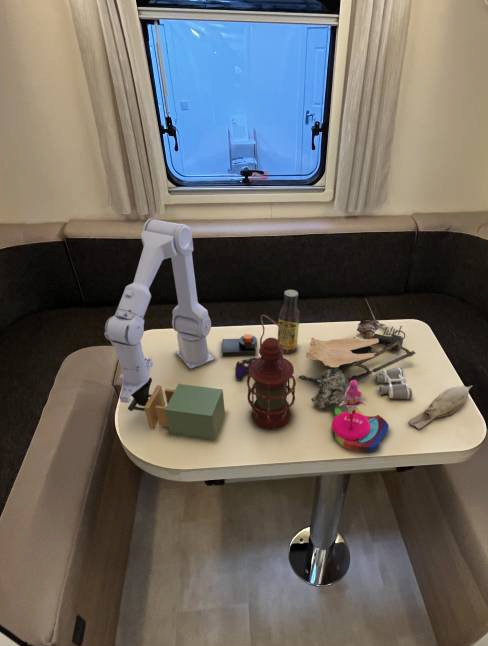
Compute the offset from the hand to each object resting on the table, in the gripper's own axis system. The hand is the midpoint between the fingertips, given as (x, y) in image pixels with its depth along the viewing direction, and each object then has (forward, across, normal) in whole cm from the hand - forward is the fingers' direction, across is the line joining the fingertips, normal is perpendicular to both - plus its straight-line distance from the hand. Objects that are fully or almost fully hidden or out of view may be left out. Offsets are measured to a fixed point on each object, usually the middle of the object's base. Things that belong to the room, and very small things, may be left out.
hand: (143, 404), depth 112 cm
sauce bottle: (+5, -36, +32) cm, 48 cm away
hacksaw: (+3, -30, +62) cm, 69 cm away
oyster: (-2, -49, +59) cm, 77 cm away
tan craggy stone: (-1, -30, +50) cm, 58 cm away
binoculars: (+5, -24, +64) cm, 68 cm away
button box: (+4, -33, +17) cm, 37 cm away
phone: (+4, -30, +46) cm, 55 cm away
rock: (+4, -16, +42) cm, 45 cm away
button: (+1, -34, +20) cm, 39 cm away
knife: (+4, -23, +46) cm, 52 cm away
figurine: (+2, -4, +53) cm, 53 cm away
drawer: (+3, 0, +5) cm, 6 cm away
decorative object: (+3, -2, +61) cm, 61 cm away
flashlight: (+5, -48, +59) cm, 76 cm away
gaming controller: (+5, -23, +23) cm, 33 cm away
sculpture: (0, -17, +78) cm, 80 cm away
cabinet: (+4, 0, +14) cm, 15 cm away
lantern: (+5, -6, +32) cm, 33 cm away
